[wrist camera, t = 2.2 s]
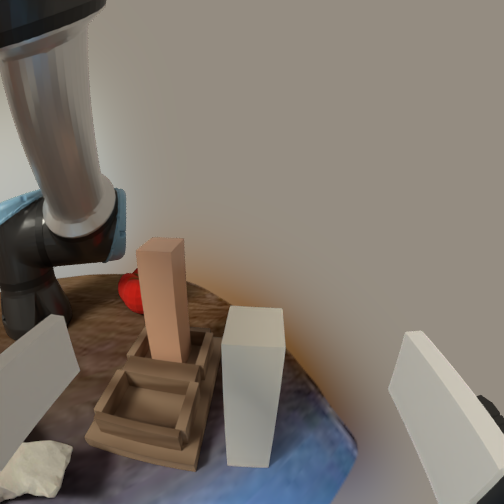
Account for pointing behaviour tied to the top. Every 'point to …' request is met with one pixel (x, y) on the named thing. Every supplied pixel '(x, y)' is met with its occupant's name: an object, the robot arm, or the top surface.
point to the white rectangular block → (251, 382)
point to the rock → (35, 470)
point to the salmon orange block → (165, 298)
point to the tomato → (131, 291)
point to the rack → (159, 404)
